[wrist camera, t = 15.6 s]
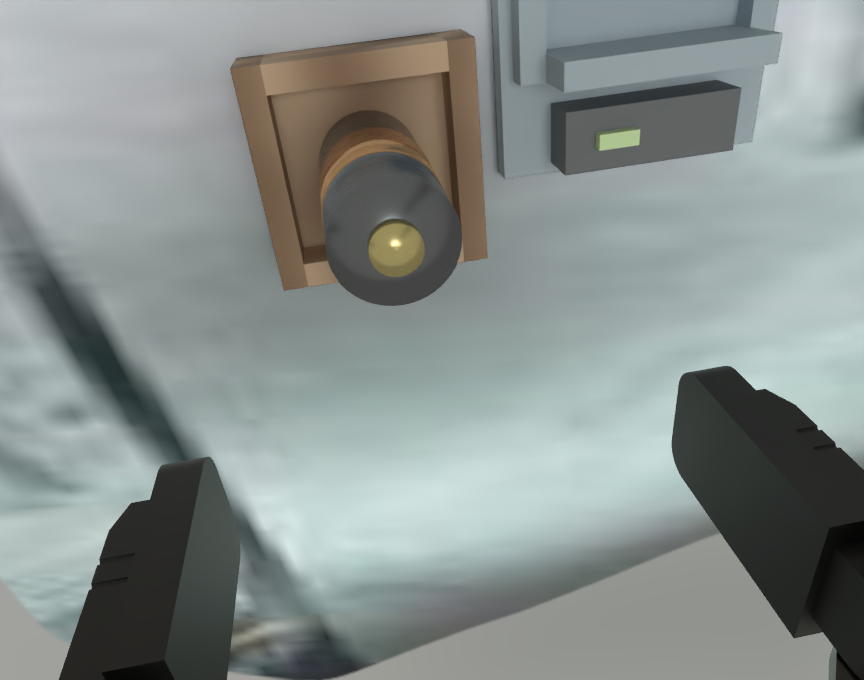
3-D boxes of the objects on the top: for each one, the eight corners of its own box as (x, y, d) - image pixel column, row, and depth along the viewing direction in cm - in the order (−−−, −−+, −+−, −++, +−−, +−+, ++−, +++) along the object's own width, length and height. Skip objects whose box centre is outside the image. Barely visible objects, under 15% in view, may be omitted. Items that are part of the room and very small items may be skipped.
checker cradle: (790, -211, 23) (873, -237, 20) (739, 136, 29) (795, 160, 26) (483, -180, 22) (515, -202, 19) (498, 171, 28) (525, 202, 25)
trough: (460, 29, 25) (474, 37, 23) (474, 235, 30) (487, 258, 28) (236, 58, 24) (230, 69, 22) (285, 265, 29) (284, 290, 27)
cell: (414, 101, 26) (461, 170, 18) (425, 202, 28) (471, 302, 20) (308, 116, 25) (310, 192, 17) (328, 217, 27) (337, 325, 20)
